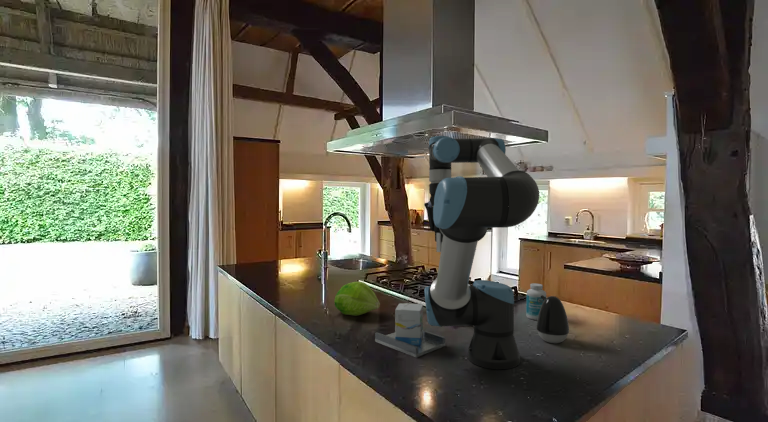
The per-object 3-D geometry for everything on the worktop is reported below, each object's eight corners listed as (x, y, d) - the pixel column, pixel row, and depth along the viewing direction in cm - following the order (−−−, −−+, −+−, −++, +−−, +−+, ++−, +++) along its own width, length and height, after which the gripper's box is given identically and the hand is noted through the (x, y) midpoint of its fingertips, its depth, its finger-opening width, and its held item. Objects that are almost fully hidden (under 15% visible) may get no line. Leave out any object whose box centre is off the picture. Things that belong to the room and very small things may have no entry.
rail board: (445, 345, 134) (445, 336, 134) (416, 357, 125) (416, 348, 125) (404, 332, 148) (404, 323, 148) (375, 341, 139) (375, 332, 139)
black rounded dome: (552, 333, 145) (552, 291, 145) (575, 343, 135) (576, 298, 135) (529, 337, 141) (529, 294, 141) (551, 348, 132) (552, 301, 131)
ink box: (420, 346, 132) (420, 310, 131) (394, 344, 133) (394, 309, 133) (423, 337, 140) (423, 303, 140) (399, 335, 142) (398, 302, 141)
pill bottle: (527, 320, 161) (527, 286, 160) (525, 314, 168) (525, 282, 168) (547, 321, 159) (547, 287, 159) (544, 315, 166) (544, 283, 166)
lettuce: (368, 323, 159) (368, 288, 159) (325, 316, 168) (325, 284, 168) (386, 312, 173) (385, 281, 172) (345, 307, 182) (345, 277, 181)
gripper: (462, 182, 136) (462, 252, 137) (433, 183, 146) (433, 248, 147) (448, 181, 131) (448, 254, 132) (418, 183, 141) (419, 250, 142)
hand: (440, 251), depth 140 cm, fingers closed
